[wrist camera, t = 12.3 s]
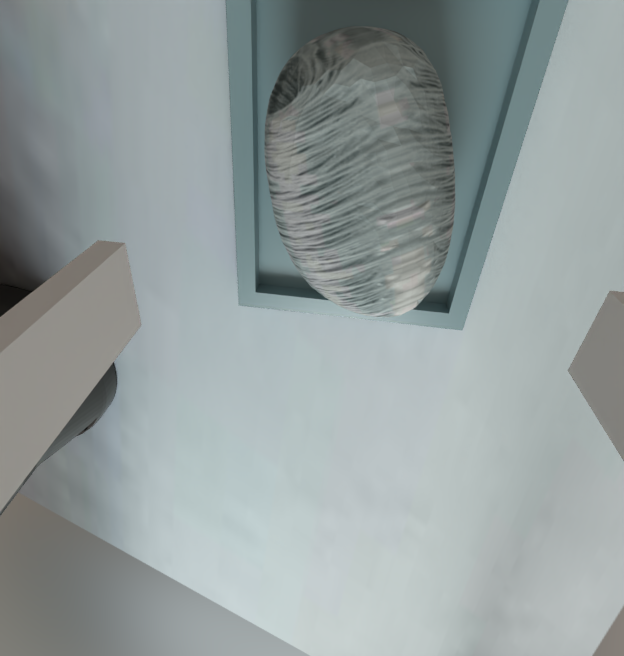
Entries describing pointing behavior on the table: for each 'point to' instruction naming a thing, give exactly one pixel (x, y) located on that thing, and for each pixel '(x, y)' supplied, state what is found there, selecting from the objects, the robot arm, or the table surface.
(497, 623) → the table surface
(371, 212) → the streaked grey egg
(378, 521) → the table surface
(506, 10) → the tray
